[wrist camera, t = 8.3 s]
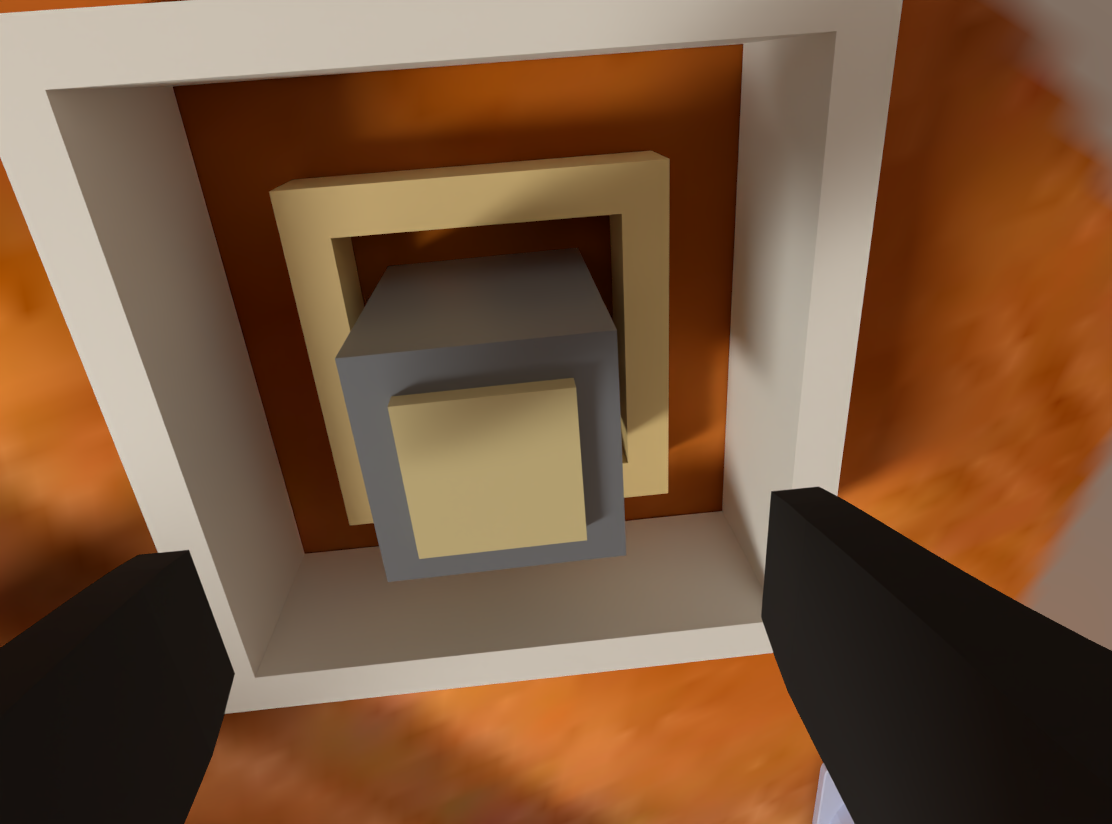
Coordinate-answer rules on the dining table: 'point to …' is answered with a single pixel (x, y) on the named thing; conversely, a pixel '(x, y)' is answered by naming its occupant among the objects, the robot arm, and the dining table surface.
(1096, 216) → the dining table surface
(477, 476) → the block
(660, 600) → the cream square frame
